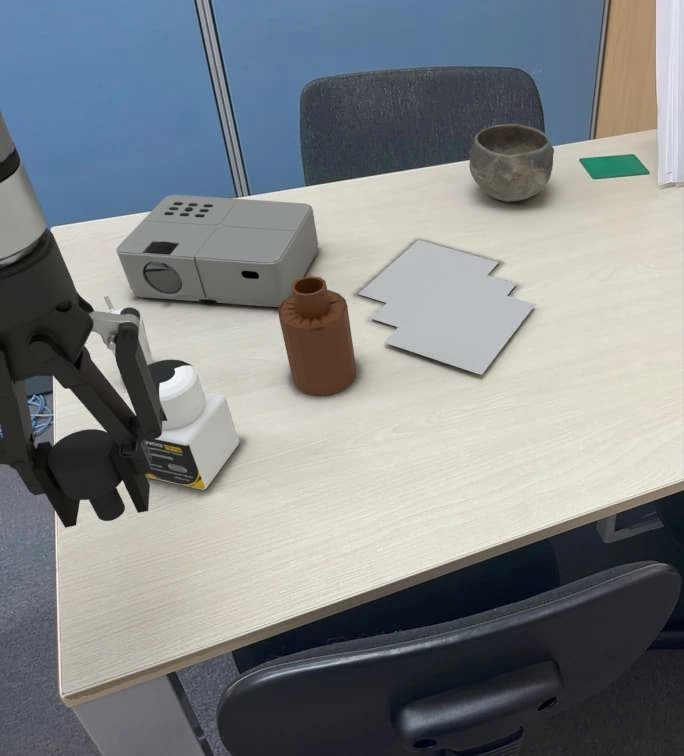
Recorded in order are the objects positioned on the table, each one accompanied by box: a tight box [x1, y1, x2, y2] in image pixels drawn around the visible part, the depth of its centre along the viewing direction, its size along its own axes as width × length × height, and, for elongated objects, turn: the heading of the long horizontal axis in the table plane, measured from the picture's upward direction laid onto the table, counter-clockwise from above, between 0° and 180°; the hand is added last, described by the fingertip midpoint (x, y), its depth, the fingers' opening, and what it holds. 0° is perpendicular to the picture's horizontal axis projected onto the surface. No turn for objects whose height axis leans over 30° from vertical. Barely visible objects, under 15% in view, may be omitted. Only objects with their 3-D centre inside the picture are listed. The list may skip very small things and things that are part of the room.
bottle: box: [277, 275, 357, 397], centre depth 82 cm, size 8×8×13 cm
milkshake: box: [103, 294, 155, 365], centre depth 82 cm, size 4×5×10 cm
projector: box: [116, 194, 319, 309], centre depth 100 cm, size 17×22×8 cm
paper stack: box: [357, 239, 536, 376], centre depth 98 cm, size 23×25×1 cm
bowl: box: [468, 123, 555, 203], centre depth 121 cm, size 14×15×10 cm
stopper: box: [47, 428, 126, 522], centre depth 54 cm, size 4×4×7 cm
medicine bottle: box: [145, 358, 240, 491], centre depth 71 cm, size 7×7×12 cm
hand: (108, 505), depth 55 cm, fingers closed on stopper, 4 cm apart
